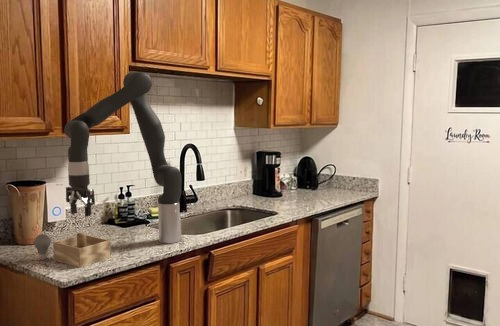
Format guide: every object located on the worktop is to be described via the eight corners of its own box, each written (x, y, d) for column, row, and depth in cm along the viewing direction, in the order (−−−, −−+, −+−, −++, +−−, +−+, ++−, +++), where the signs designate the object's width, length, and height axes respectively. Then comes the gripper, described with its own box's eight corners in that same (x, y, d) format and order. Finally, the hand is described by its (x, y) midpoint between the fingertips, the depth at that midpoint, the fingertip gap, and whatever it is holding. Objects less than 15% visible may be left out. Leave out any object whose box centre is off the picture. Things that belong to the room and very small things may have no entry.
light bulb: (48, 261, 182) (47, 236, 181) (32, 262, 182) (31, 236, 181) (53, 257, 188) (52, 232, 187) (37, 257, 188) (36, 232, 187)
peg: (83, 257, 188) (82, 232, 187) (88, 258, 186) (87, 233, 185) (75, 259, 185) (74, 234, 184) (81, 260, 183) (80, 235, 182)
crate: (84, 251, 196) (83, 234, 195) (110, 257, 187) (110, 240, 186) (54, 260, 184) (53, 242, 184) (80, 267, 176) (79, 248, 175)
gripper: (99, 173, 181) (101, 215, 183) (75, 170, 189) (77, 210, 191) (82, 175, 175) (84, 219, 177) (58, 173, 183) (61, 214, 185)
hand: (80, 214), depth 184 cm, fingers open, 8 cm apart
